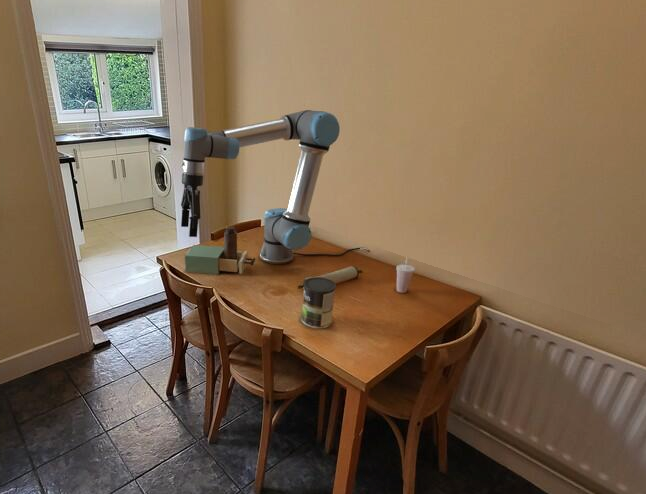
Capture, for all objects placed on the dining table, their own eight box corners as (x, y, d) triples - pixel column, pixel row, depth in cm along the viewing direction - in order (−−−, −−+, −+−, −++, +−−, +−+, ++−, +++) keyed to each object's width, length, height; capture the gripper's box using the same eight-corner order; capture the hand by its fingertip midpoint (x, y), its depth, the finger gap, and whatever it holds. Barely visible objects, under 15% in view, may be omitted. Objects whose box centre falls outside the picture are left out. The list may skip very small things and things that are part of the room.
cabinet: (225, 262, 185) (225, 247, 182) (218, 274, 174) (217, 257, 170) (194, 260, 188) (194, 244, 184) (185, 271, 177) (184, 255, 173)
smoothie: (410, 288, 161) (416, 255, 155) (410, 295, 155) (417, 261, 149) (392, 285, 163) (398, 253, 157) (392, 292, 157) (398, 259, 151)
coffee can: (305, 329, 135) (307, 291, 129) (298, 313, 144) (300, 277, 138) (335, 328, 135) (339, 290, 129) (327, 312, 145) (330, 276, 139)
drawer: (256, 263, 181) (256, 251, 179) (251, 274, 171) (251, 262, 168) (218, 260, 185) (217, 248, 182) (211, 271, 174) (210, 258, 172)
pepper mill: (238, 263, 179) (238, 226, 172) (235, 268, 175) (235, 230, 167) (226, 262, 180) (225, 225, 173) (223, 266, 176) (222, 229, 168)
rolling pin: (301, 296, 156) (302, 284, 153) (293, 290, 160) (294, 278, 158) (365, 278, 169) (367, 267, 167) (356, 273, 173) (357, 262, 171)
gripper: (175, 167, 155) (172, 222, 162) (190, 178, 133) (186, 241, 140) (194, 169, 157) (190, 223, 164) (212, 180, 136) (207, 241, 143)
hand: (188, 231), depth 152 cm, fingers open, 13 cm apart
